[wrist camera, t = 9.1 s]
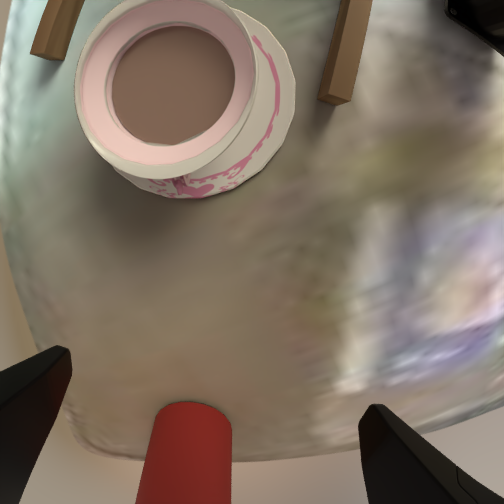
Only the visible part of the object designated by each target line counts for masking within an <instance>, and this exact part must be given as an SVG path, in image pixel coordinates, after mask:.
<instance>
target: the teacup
mask: <svg viewBox="0 0 504 504" xmlns="http://www.w3.org/2000/svg"><path fill="white" fill-rule="evenodd" d="M74 101H75V108H76V113H77V117H78V120H79V123H80V125H81V128H82V130H83V132H84V134H85V136H86V138H87V139H88V141H89V143H90V144H91V145H92V147H93V148H94V149H95V150H96V152H97V153H98V154H99V155H100V156H101V157H102V158H103V159H105V160H106V161H107V162H108V163H110V164H111V165H112V166H113V168H114V169H115V171H117V172H118V173H119V174H121V175H122V176H123V177H125V178H126V179H127V180H129V181H130V182H132V183H133V184H134V185H136V186H137V187H138V188H140V189H143V190H146V191H149V192H152V193H155V194H158V195H161V196H164V197H168V198H204V197H207V196H211V195H214V194H217V193H220V192H224V191H227V190H230V189H234V188H235V187H237V186H238V185H240V184H241V183H243V182H244V181H246V180H247V179H249V178H250V177H252V176H253V175H255V174H256V173H258V172H259V171H261V170H262V169H263V168H264V166H265V165H266V164H267V163H268V161H269V160H270V159H271V158H272V156H273V155H274V154H275V153H276V151H277V150H278V149H279V148H280V147H281V145H282V144H283V142H284V139H285V137H286V134H287V131H288V129H289V126H290V123H291V121H292V118H293V116H294V111H295V78H294V75H293V72H292V69H291V66H290V63H289V60H288V57H287V54H286V51H285V50H284V49H283V47H282V46H281V45H280V43H279V42H278V41H277V40H276V38H275V37H274V36H273V34H272V33H271V32H270V31H269V29H268V28H267V27H266V26H264V25H263V24H261V23H260V22H258V21H256V20H255V19H253V18H252V17H250V16H249V15H247V14H245V13H244V12H242V11H240V10H237V9H233V8H230V7H229V6H228V5H227V4H226V3H224V2H223V1H221V0H125V1H123V2H122V3H120V4H119V5H117V6H116V7H115V8H113V9H112V10H111V11H110V12H109V13H108V14H107V15H106V16H105V17H104V18H103V19H102V20H101V21H100V22H99V23H98V25H97V26H96V27H95V29H94V30H93V31H92V33H91V35H90V36H89V38H88V40H87V42H86V43H85V46H84V48H83V50H82V52H81V55H80V58H79V61H78V64H77V68H76V73H75V80H74Z"/></svg>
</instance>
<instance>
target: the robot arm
mask: <svg viewBox="0 0 504 504" xmlns="http://www.w3.org/2000/svg"><path fill="white" fill-rule="evenodd" d="M444 11H445V14H446V15H447V17H449V18H450V19H451V20H453V21H455V22H456V23H458V24H459V25H461V26H462V27H464V28H465V29H467V30H468V31H470V32H471V33H473V34H474V35H476V36H477V37H478V38H480V39H481V40H483V41H484V42H485V43H487V44H488V45H489V46H491V47H492V48H493V49H495V50H496V51H497V52H498V53H500V54H501V55H502V56H503V57H504V0H445V6H444ZM451 11H452V12H453V14H452V12H451ZM71 377H72V362H71V354H70V350H69V349H68V348H65V347H62V346H59V345H56V346H53V347H51V348H49V349H47V350H45V351H43V352H41V353H38V354H36V355H34V356H32V357H30V358H28V359H26V360H24V361H22V362H20V363H17V364H15V365H13V366H11V367H9V368H7V369H5V370H3V371H0V504H19V502H20V499H21V497H22V494H23V492H24V489H25V487H26V484H27V482H28V480H29V477H30V475H31V472H32V470H33V468H34V465H35V463H36V461H37V459H38V456H39V454H40V452H41V450H42V447H43V445H44V443H45V441H46V439H47V437H48V434H49V433H50V430H51V428H52V426H53V424H54V422H55V420H56V418H57V415H58V412H59V409H60V407H61V404H62V401H63V398H64V396H65V393H66V390H67V387H68V385H69V382H70V379H71ZM358 431H359V441H360V451H361V462H362V470H363V475H364V481H365V486H366V491H367V497H368V502H369V504H504V498H502V497H501V496H499V495H497V494H496V493H494V492H493V491H491V490H490V489H488V488H487V487H485V486H484V485H482V484H481V483H479V482H478V481H476V480H475V479H473V478H472V477H471V476H470V475H468V474H467V473H466V472H464V471H463V470H462V469H461V468H459V467H458V466H456V464H454V463H453V462H452V461H451V460H449V459H448V458H447V457H446V456H445V455H443V454H442V453H441V452H440V451H438V450H437V449H436V448H435V447H434V446H432V445H431V444H430V443H429V442H427V441H426V440H425V439H424V438H422V437H421V436H420V435H419V434H418V433H417V432H416V431H414V430H413V429H412V428H411V427H410V426H408V425H407V424H406V423H405V422H404V421H402V420H401V419H400V418H399V417H398V416H396V415H395V414H394V413H393V412H392V411H391V410H389V409H388V408H387V407H386V406H385V405H383V404H371V405H370V406H369V407H368V409H367V410H366V412H365V413H364V415H363V416H362V418H361V419H360V421H359V425H358Z"/></svg>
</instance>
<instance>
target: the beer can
mask: <svg viewBox="0 0 504 504" xmlns="http://www.w3.org/2000/svg"><path fill="white" fill-rule="evenodd" d="M231 464H232V428H231V423H230V422H229V421H228V419H227V418H226V417H225V415H224V414H222V413H221V412H219V411H218V410H216V409H215V408H213V407H210V406H208V405H205V404H202V403H196V402H178V403H173V404H170V405H168V406H166V407H164V408H163V409H161V410H160V411H159V413H158V414H157V416H156V418H155V422H154V426H153V430H152V434H151V438H150V442H149V446H148V450H147V454H146V459H145V463H144V467H143V472H142V476H141V480H140V485H139V489H138V493H137V498H136V503H135V504H231V466H232V465H231Z"/></svg>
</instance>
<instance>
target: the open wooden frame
mask: <svg viewBox="0 0 504 504" xmlns="http://www.w3.org/2000/svg"><path fill="white" fill-rule="evenodd" d="M84 1H85V0H48V2H47V5H46V8H45V10H44V13H43V15H42V18H41V21H40V24H39V26H38V29H37V32H36V35H35V38H34V41H33V45H32V48H31V51H30V54H31V55H35V56H38V57H41V58H44V59H47V60H64V59H65V56H66V52H67V49H68V46H69V43H70V39H71V36H72V33H73V30H74V27H75V25H76V22H77V19H78V16H79V14H80V11H81V8H82V6H83V3H84ZM372 1H373V0H341V4H340V8H339V13H338V17H337V21H336V25H335V29H334V33H333V38H332V42H331V46H330V50H329V54H328V58H327V62H326V66H325V70H324V74H323V78H322V82H321V86H320V90H319V94H318V98H317V100H321V101H324V102H327V103H330V104H333V105H336V106H337V105H340V104H343V103H346V102H350V101H351V97H352V93H353V88H354V84H355V80H356V76H357V71H358V67H359V63H360V58H361V54H362V49H363V45H364V40H365V35H366V31H367V26H368V21H369V16H370V11H371V6H372Z"/></svg>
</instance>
